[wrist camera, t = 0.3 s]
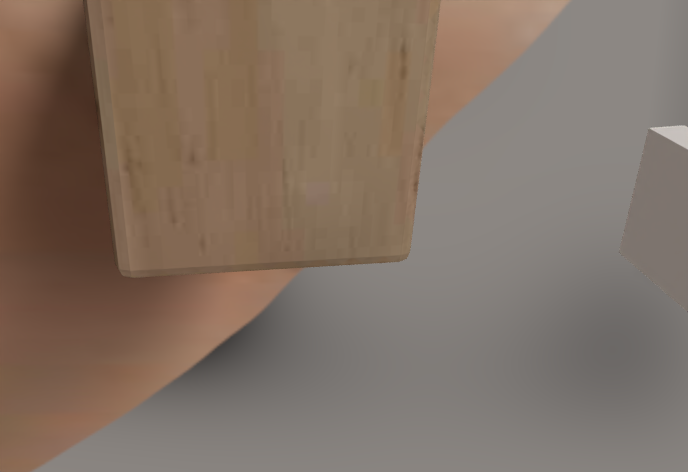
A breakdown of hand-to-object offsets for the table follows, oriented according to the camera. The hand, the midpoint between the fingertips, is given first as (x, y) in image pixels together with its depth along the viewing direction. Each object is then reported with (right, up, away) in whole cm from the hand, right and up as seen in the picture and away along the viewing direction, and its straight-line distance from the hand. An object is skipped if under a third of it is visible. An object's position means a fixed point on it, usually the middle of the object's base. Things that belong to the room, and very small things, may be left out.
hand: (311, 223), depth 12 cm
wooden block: (-6, +12, +25) cm, 29 cm away
